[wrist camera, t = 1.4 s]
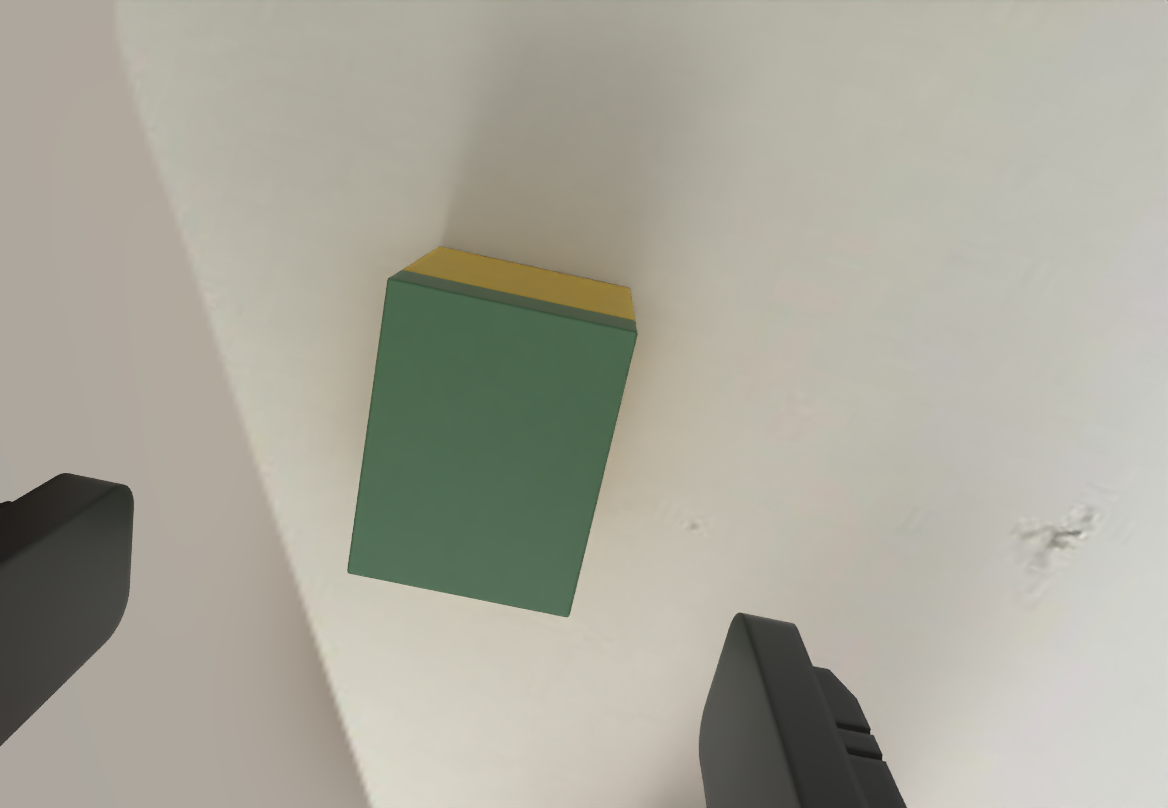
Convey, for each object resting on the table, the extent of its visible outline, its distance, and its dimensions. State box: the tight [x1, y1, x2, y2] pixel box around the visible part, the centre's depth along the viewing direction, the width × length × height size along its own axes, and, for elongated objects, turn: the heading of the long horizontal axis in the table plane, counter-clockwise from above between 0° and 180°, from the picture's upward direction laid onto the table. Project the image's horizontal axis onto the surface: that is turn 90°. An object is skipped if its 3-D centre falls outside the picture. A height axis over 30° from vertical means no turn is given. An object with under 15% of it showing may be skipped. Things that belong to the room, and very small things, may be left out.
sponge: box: [347, 247, 637, 617], centre depth 17 cm, size 6×4×4 cm
